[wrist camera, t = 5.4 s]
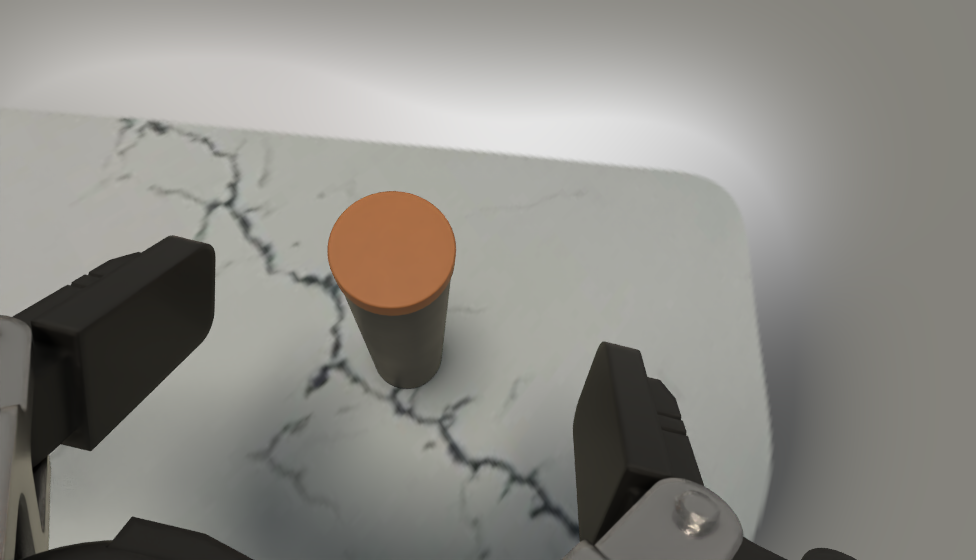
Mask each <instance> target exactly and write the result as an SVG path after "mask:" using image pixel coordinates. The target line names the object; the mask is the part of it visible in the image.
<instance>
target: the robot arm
mask: <svg viewBox="0 0 976 560" xmlns="http://www.w3.org/2000/svg"><path fill="white" fill-rule="evenodd" d="M214 308H215V251H214V248H213V247H212V246H211V245H210V244H206V243H202V242H198V241H194V240H190V239H186V238H182V237H178V236H168V237H166V238H165V239H163V240H161V241H160V242H158V243H157V244H155V245H153V246H152V247H150V248H148V249H147V250H145V251H143V252H142V253H140V252H136V253H133V254H129V255H126V256H122V257H119V258H115V259H111V260H109V261H107V262H105V263H104V264H102V265H100V266H99V267H97V268H95V269H93V270H92V271H90V272H89V274H88V275H83V276H81V277H80V278H78V279H76V280H75V281H73V282H72V284H71V286H70V285H66V286H64V287H63V288H61V289H59V290H58V291H56V292H54V293H52V294H51V295H49V296H47V297H46V298H44V299H42V300H40V301H39V302H37V303H35V304H34V305H32V306H30V307H28V308H27V309H25V310H23V311H22V312H20V313H18V314H16V315H15V316H13V317H9V316H3V315H0V560H253V559H251V558H249V557H247V556H246V555H244V554H242V553H240V552H238V551H236V550H234V549H232V548H231V547H229V546H227V545H225V544H223V543H221V542H219V541H218V540H216V539H214V538H212V537H210V536H208V535H206V534H204V533H199V532H195V531H191V530H187V529H182V528H178V527H174V526H170V525H166V524H161V523H157V522H153V521H149V520H144V519H140V518H136V517H131V518H130V520H129V521H128V522H127V523H126V525H125V526H124V527H123V528H122V530H121V531H120V532H119V533H118V535H117V536H116V537H115V538H114V539H113V540H106V541H96V542H85V543H79V544H74V545H68V546H63V547H59V548H55V549H51V550H49V519H50V482H51V465H50V458H49V454H50V453H51V452H52V451H53V450H54V449H56V448H57V447H58V446H59V445H60V444H63V445H67V446H71V447H75V448H79V449H84V450H88V451H92V450H93V449H94V448H95V447H96V446H97V445H98V444H99V443H100V442H101V441H102V440H103V439H104V438H105V437H106V436H107V435H108V434H109V433H110V432H111V431H112V430H113V429H114V428H115V427H116V426H117V425H118V424H119V423H120V422H121V421H122V420H123V419H124V418H125V417H126V416H127V415H128V414H129V413H130V412H132V411H133V410H134V409H135V408H136V407H137V406H138V405H139V404H140V403H141V402H142V401H143V400H144V399H145V398H146V397H147V396H148V395H149V394H150V393H151V392H152V391H153V390H154V389H155V388H156V387H157V386H158V385H159V384H160V383H161V382H162V381H163V380H164V379H165V378H166V377H167V376H168V375H169V374H170V373H171V372H172V371H173V370H174V369H175V368H176V367H177V366H178V365H179V364H180V363H181V362H182V361H184V360H185V359H186V358H187V357H188V356H189V355H190V354H191V353H192V352H193V351H194V350H195V349H196V348H197V347H198V346H199V345H200V344H201V343H202V342H203V341H204V339H205V338H206V336H207V335H208V333H209V331H210V328H211V326H212V322H213V318H214ZM686 433H687V432H686V429H685V426H684V423H683V421H682V420H681V414H680V411H679V408H678V405H677V402H676V399H675V397H674V396H673V395H672V394H671V393H670V391H669V390H668V389H667V388H666V387H665V385H664V384H663V383H662V382H661V381H660V380H658V379H654V378H649V377H647V374H646V371H645V367H644V363H643V359H642V356H641V353H640V351H639V350H637V349H633V348H629V347H625V346H620V345H616V344H612V343H608V342H602V343H601V344H600V346H599V347H598V350H597V352H596V355H595V357H594V360H593V363H592V366H591V368H590V371H589V374H588V376H587V379H586V382H585V385H584V387H583V390H582V393H581V395H580V398H579V401H578V404H577V407H576V412H575V417H574V423H573V440H574V456H575V472H576V488H577V504H578V520H579V536H580V543H578V544H577V545H576V546H575V547H574V548H573V549H572V550H571V551H570V552H569V553H568V554H567V555H566V556H565V557H564V558H562V559H561V560H787V559H784V558H783V557H780V556H779V555H777V554H774V553H773V552H771V551H768V550H766V549H764V548H762V547H760V546H758V545H757V544H755V543H753V542H751V541H749V540H748V539H746V538H745V537H743V530H742V527H741V524H740V521H739V519H738V517H737V516H736V514H735V513H734V511H733V510H732V509H731V508H730V506H729V505H728V504H727V503H726V502H725V501H724V500H723V499H722V498H720V497H719V496H718V495H717V494H715V493H714V492H712V491H711V490H709V489H708V488H706V487H704V484H703V481H702V478H701V475H700V472H699V469H698V466H697V463H696V460H695V456H694V453H693V450H692V447H691V444H690V441H689V438H688V436H686ZM801 560H856V559H854V558H853V557H851V556H849V555H846V554H844V553H842V552H839V551H836V550H832V549H828V548H815V549H812V550H809V551H808V552H807V553H806V554H805V555H804V556H803V558H802V559H801Z"/></svg>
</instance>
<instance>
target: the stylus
mask: <svg viewBox="0 0 976 560" xmlns="http://www.w3.org/2000/svg"><path fill="white" fill-rule="evenodd" d="M455 256H456V242H455V237H454V233H453V231H452V228H451V226H450V224H449V222H448V220H447V219H446V218H445V216H444V215H443V214H442V213H441V212H440V210H439V209H438V208H436V207H435V206H434V205H433V204H431V203H430V202H428V201H427V200H425V199H423V198H421V197H419V196H416V195H413V194H410V193H405V192H397V191H387V192H380V193H376V194H372V195H369V196H366V197H364V198H362V199H360V200H358V201H356V202H355V203H354V204H352V205H351V206H349V207H348V208H347V209H346V210H345V211H344V212H343V213H342V214H341V216H340V217H339V218H338V220H337V221H336V223H335V224H334V226H333V229H332V231H331V234H330V237H329V241H328V261H329V265H330V269H331V271H332V273H333V276H334V278H335V280H336V282H337V285H338V286H339V288H340V289H341V291H342V292H343V293H344V295H345V297H346V300H347V302H348V304H349V306H350V309H351V311H352V313H353V316H354V318H355V320H356V323H357V325H358V327H359V329H360V332H361V334H362V336H363V339H364V341H365V343H366V346H367V348H368V350H369V352H370V355H371V357H372V359H373V362H374V364H375V366H376V369H377V371H378V373H379V374H380V376H381V377H382V378H383V379H384V380H385V381H386V382H388V383H389V384H391V385H393V386H395V387H398V388H403V389H411V388H416V387H419V386H422V385H424V384H425V383H427V382H428V381H429V380H431V379H432V378H433V377H434V375H435V374H436V373H437V371H438V369H439V366H440V363H441V358H442V349H443V341H444V332H445V323H446V314H447V306H448V297H449V288H450V280H451V276H452V274H453V270H454V265H455Z"/></svg>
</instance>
